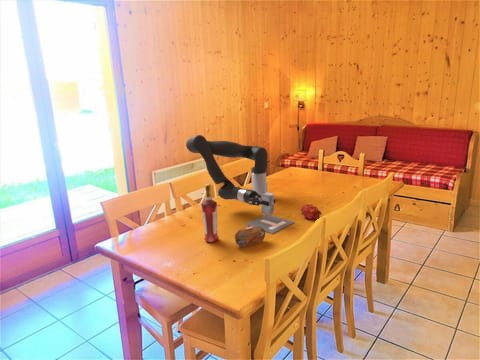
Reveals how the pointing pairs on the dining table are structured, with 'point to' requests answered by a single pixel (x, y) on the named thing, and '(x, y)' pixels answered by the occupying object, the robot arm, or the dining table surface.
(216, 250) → the dining table surface
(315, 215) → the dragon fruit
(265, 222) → the letter board
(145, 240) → the dining table surface
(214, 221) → the liquor
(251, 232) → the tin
